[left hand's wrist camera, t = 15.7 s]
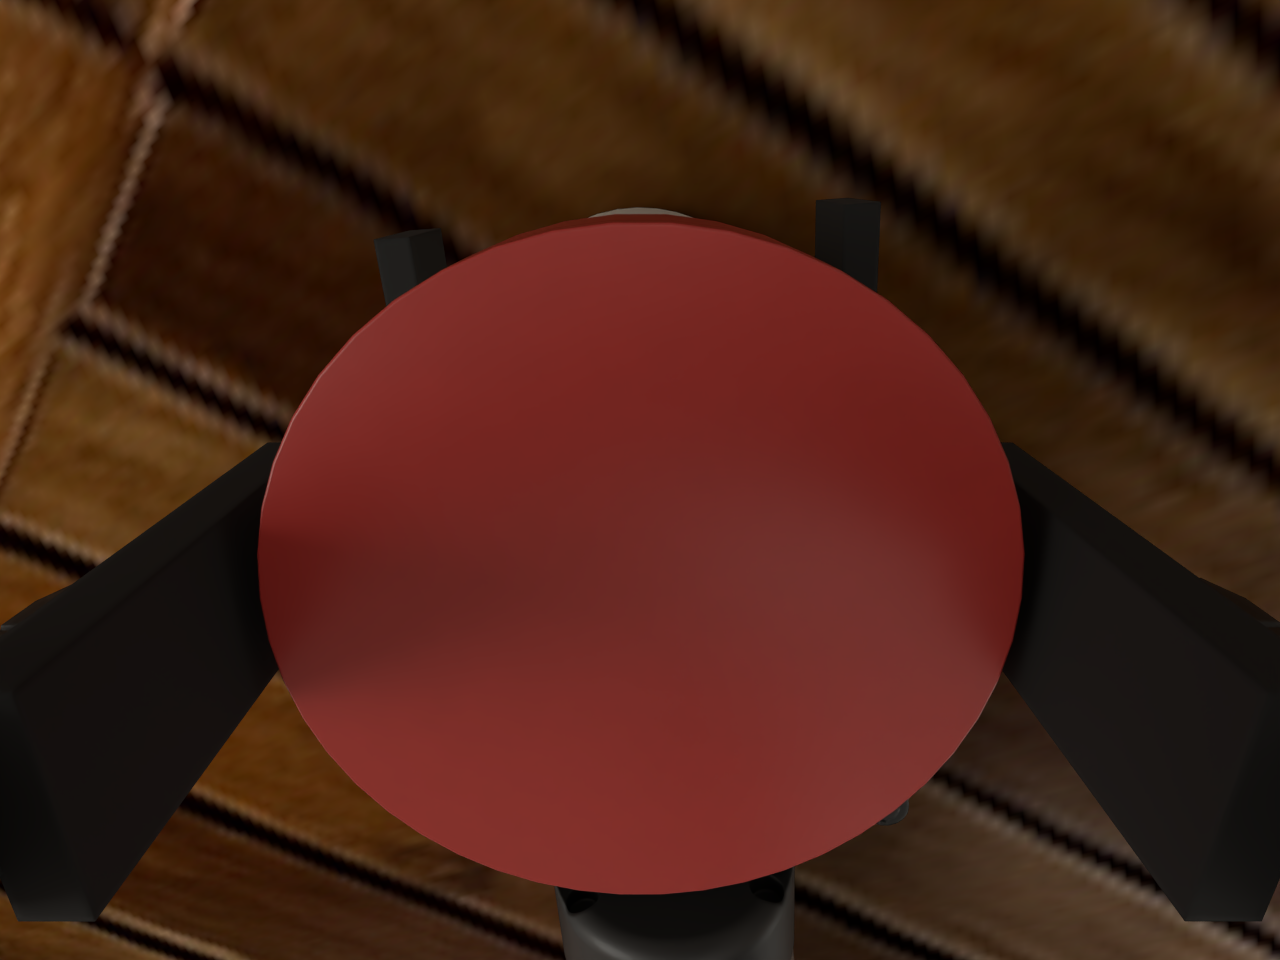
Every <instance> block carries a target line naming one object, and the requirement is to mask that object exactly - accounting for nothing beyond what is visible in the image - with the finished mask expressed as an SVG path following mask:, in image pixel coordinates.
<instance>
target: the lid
mask: <svg viewBox="0 0 1280 960" xmlns="http://www.w3.org/2000/svg"><path fill="white" fill-rule="evenodd" d="M1024 555H1025V553H1024V542H1023V531H1022V521H1021V510H1020V504H1019V500H1018V496H1017V492H1016V489H1015V485H1014V481H1013V477H1012V473H1011V469H1010V465H1009V461H1008V459H1007V457H1006V454H1005V452H1004V450H1003V447H1002V445H1001V443H1000V440H999V438H998V435H997V433H996V431H995V428H994V426H993V424H992V421H991V419H990V417H989V415H988V414H987V412H986V411H985V409H984V407H983V406H982V404H981V403H980V401H979V399H978V398H977V396H976V395H975V393H974V391H973V390H972V388H971V387H970V385H969V383H968V382H967V380H966V379H965V377H964V375H963V374H962V373H961V372H960V371H959V369H958V368H957V367H956V366H955V365H954V364H953V362H952V361H951V360H950V359H949V358H948V357H947V355H946V354H945V353H944V352H943V351H942V350H941V348H940V347H939V346H938V345H937V344H936V343H935V342H934V340H933V339H932V338H931V337H930V336H929V335H928V334H927V333H926V332H925V331H924V330H922V329H921V328H920V327H919V326H918V325H917V324H915V323H914V322H913V321H912V320H911V319H910V318H908V317H907V316H906V315H905V314H904V313H903V312H901V311H900V310H899V309H898V308H897V307H896V306H894V305H893V304H892V303H891V302H890V301H889V300H887V299H886V298H884V297H883V296H881V295H879V294H878V293H876V292H875V291H873V290H871V289H870V288H868V287H867V286H865V285H863V284H862V283H860V282H859V281H857V280H856V279H854V278H852V277H851V276H849V275H848V274H846V273H844V272H843V271H841V270H839V269H837V268H835V267H833V266H831V265H829V264H827V263H825V262H823V261H821V260H819V259H817V258H815V257H813V256H811V255H809V254H806V253H804V252H802V251H800V250H797V249H795V248H793V247H791V246H788V245H786V244H784V243H782V242H779V241H777V240H775V239H773V238H770V237H768V236H766V235H763V234H760V233H756V232H753V231H749V230H746V229H742V228H739V227H735V226H732V225H728V224H725V223H721V222H718V221H712V220H705V219H697V218H690V217H683V216H676V215H669V214H613V215H606V216H599V217H591V218H584V219H577V220H570V221H564V222H561V223H557V224H554V225H550V226H547V227H543V228H540V229H536V230H533V231H529V232H526V233H522V234H518V235H516V236H514V237H511V238H509V239H507V240H505V241H502V242H500V243H498V244H496V245H493V246H491V247H489V248H487V249H484V250H482V251H480V252H478V253H475V254H473V255H471V256H469V257H467V258H465V259H463V260H461V261H459V262H457V263H455V264H453V265H451V266H449V267H447V268H444V269H442V270H441V271H439V272H438V273H436V274H434V275H433V276H431V277H430V278H428V279H426V280H425V281H423V282H422V283H420V284H418V285H417V286H415V287H414V288H412V289H411V290H409V291H407V292H406V293H404V294H403V295H401V296H399V297H398V298H396V299H395V300H393V301H392V302H391V303H390V304H389V305H387V306H386V307H385V308H384V309H383V310H382V311H380V312H379V313H378V314H377V315H376V316H375V317H373V318H372V319H371V320H370V321H369V322H368V323H366V324H365V325H364V326H363V327H362V328H361V329H359V330H358V331H357V332H356V333H355V334H354V335H353V336H352V337H351V338H350V339H349V340H348V341H347V343H346V344H345V345H344V346H343V347H342V348H341V350H340V351H339V352H338V353H337V354H336V355H335V356H334V358H333V359H332V360H331V361H330V362H329V363H328V365H327V366H326V367H325V368H324V369H323V370H322V372H321V373H320V374H319V375H318V377H317V378H316V380H315V382H314V383H313V385H312V386H311V388H310V390H309V391H308V393H307V394H306V396H305V397H304V399H303V401H302V402H301V404H300V405H299V407H298V409H297V410H296V412H295V413H294V415H293V417H292V419H291V421H290V423H289V426H288V428H287V430H286V433H285V435H284V437H283V440H282V442H281V444H280V447H279V449H278V451H277V454H276V456H275V458H274V461H273V464H272V468H271V472H270V476H269V480H268V484H267V488H266V492H265V496H264V499H263V503H262V508H261V518H260V529H259V539H258V550H257V559H258V576H259V593H260V601H261V606H262V611H263V616H264V621H265V625H266V630H267V635H268V640H269V643H270V646H271V648H272V651H273V654H274V657H275V659H276V662H277V665H278V668H279V670H280V673H281V676H282V679H283V681H284V683H285V685H286V687H287V689H288V691H289V692H290V694H291V696H292V698H293V700H294V702H295V704H296V706H297V708H298V710H299V711H300V713H301V715H302V717H303V719H304V720H305V722H306V723H307V724H308V726H309V727H310V729H311V730H312V732H313V733H314V734H315V736H316V737H317V739H318V740H319V741H320V743H321V744H322V746H323V747H324V749H325V750H326V751H327V753H328V754H329V755H330V756H331V757H332V758H333V759H334V760H335V762H336V763H337V764H338V765H339V766H340V767H341V768H342V769H343V770H344V771H345V772H346V774H347V775H348V776H349V777H350V778H351V779H352V780H353V781H354V782H355V783H356V784H357V785H358V786H359V787H360V788H361V789H362V790H364V791H365V792H366V793H367V794H368V795H369V796H371V797H372V798H373V799H374V800H375V801H376V802H377V803H379V804H380V805H381V806H382V807H383V808H384V809H386V810H387V811H388V812H389V813H391V814H392V815H394V816H395V817H397V818H398V819H400V820H401V821H403V822H404V823H405V824H407V825H408V826H410V827H411V828H413V829H414V830H416V831H417V832H419V833H420V834H421V835H423V836H425V837H427V838H429V839H431V840H433V841H434V842H436V843H438V844H440V845H442V846H444V847H446V848H447V849H449V850H451V851H453V852H455V853H457V854H459V855H461V856H463V857H466V858H468V859H471V860H473V861H476V862H478V863H480V864H483V865H485V866H488V867H490V868H493V869H495V870H498V871H501V872H504V873H508V874H511V875H514V876H518V877H521V878H524V879H528V880H531V881H534V882H538V883H543V884H548V885H553V886H559V887H564V888H569V889H574V890H580V891H590V892H601V893H611V894H670V893H681V892H691V891H701V890H707V889H713V888H718V887H723V886H728V885H733V884H738V883H744V882H747V881H750V880H754V879H757V878H761V877H764V876H767V875H771V874H774V873H777V872H781V871H784V870H786V869H789V868H791V867H794V866H796V865H799V864H801V863H803V862H806V861H808V860H811V859H813V858H816V857H818V856H821V855H823V854H825V853H827V852H829V851H830V850H832V849H834V848H836V847H838V846H840V845H842V844H843V843H845V842H847V841H849V840H851V839H853V838H855V837H856V836H858V835H860V834H861V833H863V832H864V831H866V830H867V829H869V828H870V827H872V826H873V825H875V824H876V823H878V822H879V821H880V820H882V819H883V818H885V817H886V816H888V815H889V814H891V813H892V812H894V811H895V810H896V809H897V808H898V807H899V806H901V805H902V804H903V803H904V802H905V801H906V800H908V799H909V798H910V797H911V796H912V795H913V794H914V793H916V792H917V791H918V790H919V789H920V788H921V787H923V786H924V785H925V784H926V783H927V782H928V781H929V780H930V779H931V777H932V776H933V775H934V774H935V773H936V772H937V771H938V770H939V769H940V768H941V767H942V765H943V764H944V763H945V762H946V761H947V760H948V759H949V758H950V757H951V756H952V754H953V753H954V752H955V751H956V749H957V748H958V746H959V745H960V744H961V742H962V741H963V739H964V738H965V737H966V735H967V734H968V732H969V731H970V730H971V728H972V727H973V725H974V724H975V723H976V721H977V720H978V718H979V716H980V714H981V713H982V711H983V709H984V707H985V705H986V703H987V701H988V699H989V697H990V696H991V694H992V692H993V690H994V688H995V686H996V684H997V682H998V680H999V677H1000V675H1001V672H1002V669H1003V667H1004V664H1005V661H1006V658H1007V656H1008V653H1009V650H1010V647H1011V645H1012V642H1013V638H1014V633H1015V629H1016V624H1017V619H1018V614H1019V610H1020V605H1021V600H1022V588H1023V572H1024Z"/></svg>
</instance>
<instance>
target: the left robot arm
mask: <svg viewBox="0 0 1280 960" xmlns="http://www.w3.org/2000/svg"><path fill="white" fill-rule="evenodd" d="M280 444H281V443H266V444H265V445H264V446H262V447H261V448H260V449H258V450H257V451H255V452H254V453H253V454H251V455H250V456H248V457H247V458H246V459H244V460H243V461H242V462H240V463H239V464H237V465H236V466H235V467H233V468H232V469H231V470H229V471H228V472H226V473H225V474H224V475H222V476H221V477H220V478H218V479H217V480H215V481H214V482H213V483H211V484H210V485H208V486H207V487H206V488H204V489H203V490H202V491H200V492H199V493H197V494H196V495H195V496H193V497H192V498H191V499H189V500H188V501H186V502H185V503H184V504H182V505H181V506H180V507H178V508H177V509H175V510H174V511H173V512H171V513H170V514H169V515H167V516H166V517H164V518H163V519H162V520H160V521H159V522H157V523H156V524H155V525H153V526H152V527H151V528H149V529H148V530H146V531H145V532H144V533H142V534H141V535H140V536H138V537H137V538H135V539H134V540H133V541H131V542H130V543H129V544H127V545H126V546H124V547H123V548H122V549H120V550H119V551H118V552H116V553H115V554H113V555H112V556H111V557H109V558H108V559H106V560H105V561H104V562H102V563H101V564H100V565H98V566H97V567H95V568H94V569H93V570H91V571H90V572H89V573H87V574H86V575H84V576H83V577H82V578H80V579H79V580H78V581H76V582H75V583H73V584H72V585H70V586H68V587H65V588H63V589H61V590H59V591H57V592H54V593H52V594H50V595H48V596H46V597H44V598H41V599H39V600H37V601H35V602H34V603H32V604H31V605H29V606H28V607H27V608H25V609H24V610H22V611H21V612H19V613H18V614H17V615H15V616H14V617H12V618H11V619H10V620H8V621H7V622H5V623H4V624H3V625H1V630H0V879H1V881H2V884H3V886H4V888H5V891H6V893H7V896H8V898H9V900H10V903H11V905H12V908H13V910H14V912H15V915H16V917H17V920H18V921H96V919H97V918H98V917H99V915H100V914H101V912H102V911H103V910H104V908H105V907H106V906H107V904H108V903H109V901H110V900H111V899H112V897H113V896H114V895H115V893H116V892H117V890H118V889H119V888H120V886H121V885H122V884H123V882H124V881H125V879H126V878H127V877H128V875H129V874H130V873H131V871H132V870H133V868H134V867H135V866H136V864H137V863H138V862H139V860H140V859H141V857H142V856H143V855H144V853H145V852H146V851H147V849H148V848H149V846H150V845H151V844H152V842H153V841H154V840H155V838H156V837H157V835H158V834H159V833H160V831H161V830H162V829H163V827H164V826H165V824H166V823H167V822H168V820H169V819H170V818H171V816H172V815H173V813H174V812H175V811H176V809H177V808H178V807H179V805H180V804H181V802H182V801H183V800H184V798H185V797H186V796H187V794H188V793H189V791H190V790H191V789H192V787H193V786H194V785H195V783H196V782H197V780H198V779H199V778H200V776H201V775H202V774H203V772H204V771H205V769H206V768H207V767H208V765H209V764H210V763H211V761H212V760H213V759H214V757H215V756H216V754H217V753H218V752H219V750H220V749H221V748H222V746H223V745H224V743H225V742H226V741H227V739H228V738H229V737H230V735H231V734H232V732H233V731H234V730H235V728H236V727H237V726H238V724H239V723H240V721H241V720H242V719H243V717H244V716H245V715H246V713H247V712H248V710H249V709H250V708H251V706H252V705H253V704H254V702H255V701H256V699H257V698H258V697H259V695H260V694H261V693H262V691H263V690H264V688H265V687H266V686H267V684H268V683H269V682H270V680H271V679H272V677H273V676H274V675H275V673H276V672H277V671H278V669H279V668H278V665H277V662H276V659H275V657H274V654H273V651H272V648H271V646H270V643H269V640H268V635H267V630H266V625H265V621H264V616H263V611H262V606H261V601H260V593H259V576H258V559H257V550H258V539H259V529H260V518H261V508H262V503H263V499H264V496H265V492H266V488H267V484H268V480H269V476H270V472H271V468H272V464H273V461H274V458H275V456H276V454H277V451H278V449H279V447H280ZM1001 445H1002V447H1003V450H1004V452H1005V454H1006V457H1007V459H1008V461H1009V465H1010V469H1011V473H1012V477H1013V481H1014V485H1015V489H1016V492H1017V496H1018V500H1019V504H1020V510H1021V521H1022V531H1023V542H1024V553H1025V555H1024V572H1023V588H1022V600H1021V605H1020V610H1019V614H1018V619H1017V624H1016V629H1015V633H1014V638H1013V642H1012V645H1011V647H1010V650H1009V653H1008V656H1007V658H1006V661H1005V664H1004V667H1003V669H1002V671H1003V672H1004V673H1005V675H1006V676H1007V677H1008V679H1009V680H1010V682H1011V683H1012V684H1013V686H1014V687H1015V688H1016V690H1017V691H1018V693H1019V694H1020V695H1021V697H1022V698H1023V699H1024V701H1025V702H1026V704H1027V705H1028V706H1029V708H1030V709H1031V710H1032V712H1033V713H1034V715H1035V716H1036V717H1037V719H1038V720H1039V721H1040V723H1041V724H1042V726H1043V727H1044V728H1045V730H1046V731H1047V732H1048V734H1049V735H1050V737H1051V738H1052V739H1053V741H1054V742H1055V743H1056V745H1057V746H1058V748H1059V749H1060V750H1061V752H1062V753H1063V754H1064V756H1065V757H1066V759H1067V760H1068V761H1069V763H1070V764H1071V765H1072V767H1073V768H1074V770H1075V771H1076V772H1077V774H1078V775H1079V776H1080V778H1081V779H1082V781H1083V782H1084V783H1085V785H1086V786H1087V787H1088V789H1089V790H1090V792H1091V793H1092V794H1093V796H1094V797H1095V798H1096V800H1097V801H1098V803H1099V804H1100V805H1101V807H1102V808H1103V809H1104V811H1105V812H1106V813H1107V815H1108V816H1109V818H1110V819H1111V820H1112V822H1113V823H1114V824H1115V826H1116V827H1117V829H1118V830H1119V831H1120V833H1121V834H1122V835H1123V837H1124V838H1125V840H1126V841H1127V842H1128V844H1129V845H1130V846H1131V848H1132V849H1133V851H1134V852H1135V853H1136V855H1137V856H1138V857H1139V859H1140V860H1141V862H1142V863H1143V864H1144V866H1145V867H1146V868H1147V870H1148V871H1149V873H1150V874H1151V875H1152V877H1153V878H1154V879H1155V881H1156V882H1157V884H1158V885H1159V886H1160V888H1161V889H1162V890H1163V892H1164V893H1165V895H1166V896H1167V897H1168V899H1169V900H1170V901H1171V903H1172V904H1173V906H1174V907H1175V908H1176V910H1177V911H1178V912H1179V914H1180V915H1181V917H1182V918H1183V919H1184V921H1262V919H1263V917H1264V915H1265V912H1266V910H1267V907H1268V905H1269V903H1270V900H1271V898H1272V896H1273V893H1274V891H1275V888H1276V886H1277V884H1278V881H1279V879H1280V622H1279V621H1277V620H1276V619H1274V618H1273V617H1271V616H1270V615H1269V614H1267V613H1266V612H1264V611H1263V610H1261V609H1260V608H1259V607H1257V606H1256V605H1254V604H1253V603H1252V602H1250V601H1249V600H1247V599H1246V598H1244V597H1242V596H1239V595H1237V594H1235V593H1233V592H1231V591H1228V590H1226V589H1224V588H1222V587H1220V586H1217V585H1215V584H1213V583H1211V582H1209V581H1206V580H1204V579H1202V578H1198V577H1197V576H1196V575H1194V574H1193V573H1191V572H1190V571H1189V570H1187V569H1186V568H1185V567H1183V566H1182V565H1180V564H1179V563H1178V562H1176V561H1175V560H1173V559H1172V558H1171V557H1169V556H1168V555H1167V554H1165V553H1164V552H1162V551H1161V550H1160V549H1158V548H1157V547H1156V546H1154V545H1153V544H1151V543H1150V542H1149V541H1147V540H1146V539H1145V538H1143V537H1142V536H1140V535H1139V534H1138V533H1136V532H1135V531H1134V530H1132V529H1131V528H1129V527H1128V526H1127V525H1125V524H1124V523H1122V522H1121V521H1120V520H1118V519H1117V518H1116V517H1114V516H1113V515H1111V514H1110V513H1109V512H1107V511H1106V510H1105V509H1103V508H1102V507H1100V506H1099V505H1098V504H1096V503H1095V502H1094V501H1092V500H1091V499H1089V498H1088V497H1087V496H1085V495H1084V494H1083V493H1081V492H1080V491H1078V490H1077V489H1076V488H1074V487H1073V486H1071V485H1070V484H1069V483H1067V482H1066V481H1065V480H1063V479H1062V478H1060V477H1059V476H1058V475H1056V474H1055V473H1054V472H1052V471H1051V470H1049V469H1048V468H1047V467H1045V466H1044V465H1043V464H1041V463H1040V462H1038V461H1037V460H1036V459H1034V458H1033V457H1032V456H1030V455H1029V454H1027V453H1026V452H1025V451H1023V450H1022V449H1020V448H1019V447H1018V446H1016V445H1015V444H1014V443H1001Z"/></svg>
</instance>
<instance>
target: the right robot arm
mask: <svg viewBox="0 0 1280 960" xmlns="http://www.w3.org/2000/svg"><path fill="white" fill-rule="evenodd" d="M880 209H881V202H877V201H869V200H861V199H852V198H840V199H826V200H816V236H815V258H817V259H819V260H821V261H823V262H825V263H827V264H829V265H831V266H833V267H835V268H837V269H839V270H841V271H843V272H844V273H846V274H848V275H849V276H851V277H852V278H854V279H856V280H857V281H859V282H860V283H862V284H863V285H865V286H867V287H868V288H870V289H871V290H873V291H875V292H876V293H877V278H878V255H879V232H880ZM374 244H375V249H376V254H377V260H378V265H379V270H380V275H381V281H382V286H383V291H384V296H385V302H386V306H387V305H389V304H390V303H391V302H392V301H393V300H395V299H396V298H398V297H399V296H401V295H403V294H404V293H406V292H407V291H409V290H411V289H412V288H414V287H415V286H417V285H418V284H420V283H422V282H423V281H425V280H426V279H428V278H430V277H431V276H433V275H434V274H436V273H438V272H439V271H441V270H442V269H444V268H447V265H446V259H445V253H444V246H443V240H442V234H441V228H438V229H424V230H411V231H406V232H402V233H398V234H394V235H390V236H386V237H382V238H378V239H374ZM908 808H909V802H908V800H906V801H905V802H904V803H903V804H902V805H901V806H899V807H898V808H897V809H896V810H895V811H894V812H892V813H891V814H889V815H888V816H886V817H885V818H883V819H882V820H880V821H879V822H878V823H876V824H879V825H892V824H895V823H898V822H899V821H901V820H902V819H904V817H905V816H906V814H907V813H908ZM794 879H795V866H794V867H791V868H789V869H786V870H784V871H781V872H777V873H774V874H771V875H767V876H764V877H761V878H757V879H754V880H750V881H747V882H744V883H738V884H733V885H728V886H723V887H718V888H713V889H707V890H701V891H691V892H681V893H670V894H611V893H601V892H590V891H580V890H574V889H569V888H564V887H559V886H554V887H555V893H556V900H557V906H558V913H559V919H560V926H561V932H562V939H563V946H564V952H565V957H566V960H794V953H793V946H794Z"/></svg>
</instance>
